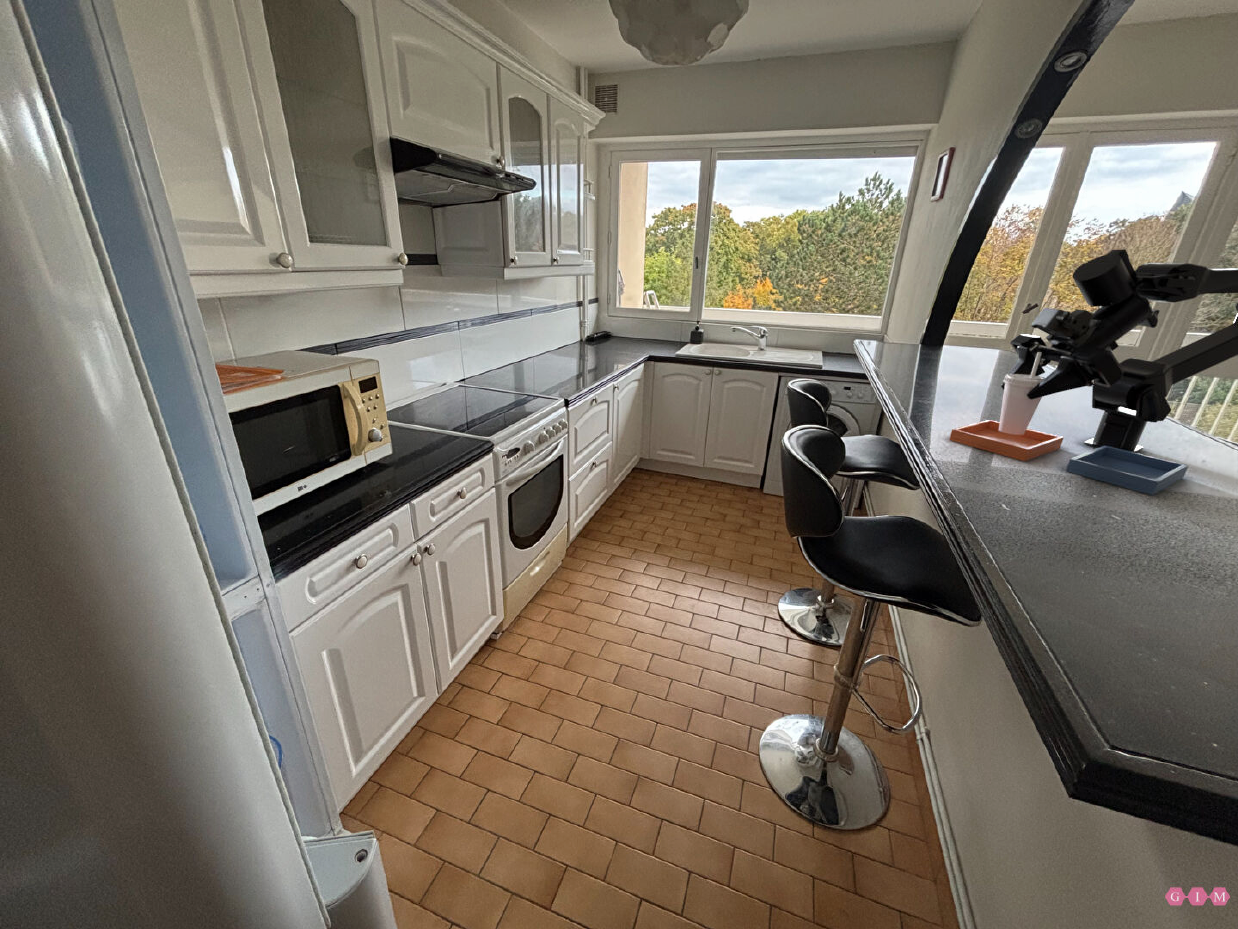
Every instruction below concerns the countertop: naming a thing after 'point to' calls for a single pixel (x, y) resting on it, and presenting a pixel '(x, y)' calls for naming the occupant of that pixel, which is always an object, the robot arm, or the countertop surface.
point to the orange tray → (1006, 440)
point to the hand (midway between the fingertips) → (1014, 392)
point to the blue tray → (1127, 469)
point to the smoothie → (1019, 401)
